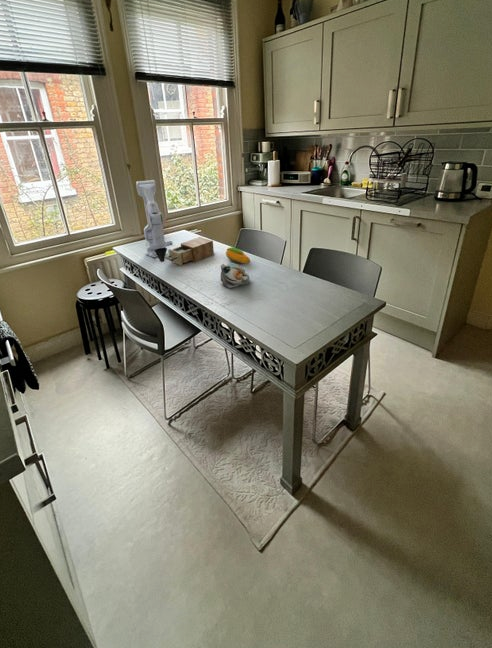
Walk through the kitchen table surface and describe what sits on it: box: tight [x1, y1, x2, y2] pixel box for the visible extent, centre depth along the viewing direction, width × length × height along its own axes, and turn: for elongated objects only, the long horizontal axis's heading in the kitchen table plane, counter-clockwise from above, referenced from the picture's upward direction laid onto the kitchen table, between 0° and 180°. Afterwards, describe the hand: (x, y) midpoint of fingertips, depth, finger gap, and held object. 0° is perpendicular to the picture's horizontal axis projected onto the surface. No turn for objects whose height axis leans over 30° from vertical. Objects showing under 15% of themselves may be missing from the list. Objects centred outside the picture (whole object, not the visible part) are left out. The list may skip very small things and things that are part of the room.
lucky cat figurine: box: [220, 263, 250, 289], centre depth 146 cm, size 15×12×14 cm
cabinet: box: [180, 236, 215, 263], centre depth 184 cm, size 15×12×9 cm
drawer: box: [164, 245, 194, 266], centre depth 176 cm, size 18×10×7 cm, turn 136°
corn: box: [225, 246, 251, 265], centre depth 173 cm, size 7×8×20 cm
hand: (162, 261), depth 168 cm, fingers closed
